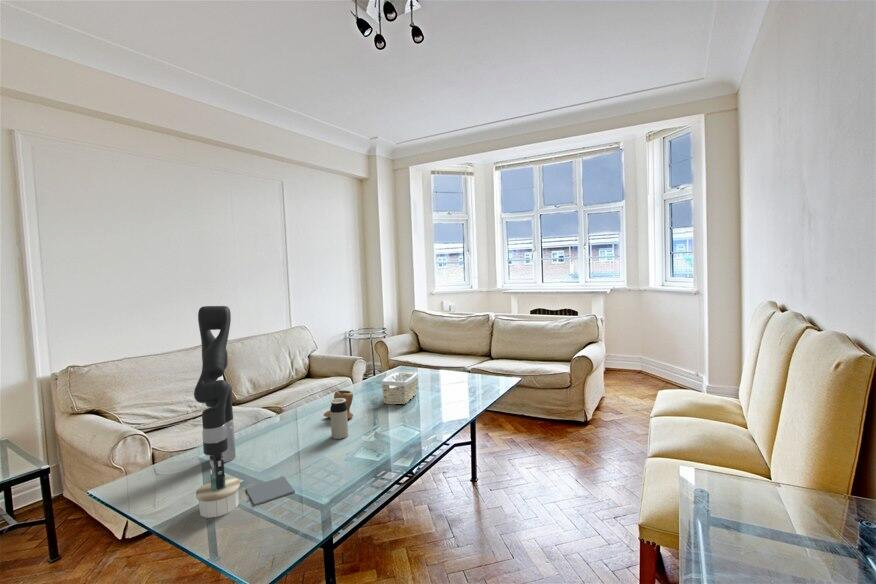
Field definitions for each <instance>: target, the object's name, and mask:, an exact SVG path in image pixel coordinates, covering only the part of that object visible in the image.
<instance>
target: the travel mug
mask: <svg viewBox="0 0 876 584" xmlns="http://www.w3.org/2000/svg"><path fill="white" fill-rule="evenodd" d="M345 402H346V399H344V398H336V399H334V398H333V399H331V400H330V402H329V403H331V404H330V405H331V406H330V407H329V408H330V409H329V411H330V414H331V418H330V432H331V438H332V439H335V440H342V438H343V439H345V438H347V437H348V436H349V428H348V427H349V426H348V422H349V421H348V420H349V419H347V405H346V404H345Z"/></svg>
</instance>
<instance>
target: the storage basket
mask: <svg viewBox="0 0 876 584" xmlns="http://www.w3.org/2000/svg"><path fill="white" fill-rule="evenodd" d="M404 377H405V379H404ZM418 379H419V375H418V372H410V371H408V372H406V371H396V372H393V373H391V374H390V375H388V376H386V377H385V378H382V380H381V391H382V398H383V399H382V400H383V404H385V403H386V405H395V404H405V403H406V404H408V402H410V401H411V400H412V399H413V398H414V397H416V396H417V394H416V393H418V392H417V390H418ZM415 395H416V396H415ZM413 396H414V397H413ZM410 399H411V400H410ZM409 400H410V401H409ZM406 404H405V405H406Z"/></svg>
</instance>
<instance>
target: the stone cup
mask: <svg viewBox="0 0 876 584" xmlns="http://www.w3.org/2000/svg"><path fill="white" fill-rule="evenodd" d="M336 398H344V399H346V402H345V404H346V405H347V419H348V420H349V419H352V418H353V417H354V414H353V413H352V412H351V410H350V409H351V405H352V403H353V399H354V394H353V392H352V391H351V390H345V389H343V390H342V389H337V390H336V391H335V392H334V396H333V399H336ZM323 416H324V417H326V418H328V419H329V418H330V419H331V414H330V410H328V411H326V412H324V413H323Z"/></svg>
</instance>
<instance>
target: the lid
mask: <svg viewBox="0 0 876 584" xmlns="http://www.w3.org/2000/svg"><path fill="white" fill-rule="evenodd" d="M219 474H221V471H220V472H218V475H219ZM209 476H210V481H209V482H206V483H204V484H202V485H201V486H200V487H198V488H197V489H196V490H195V491H196V492H195V497H196V499H197V501H199V500H200V501H216V500H220V499H223V498H226V497H228V496H230V495H232V494H234V493H235V492H236V491H237V490H238V491H239V490H240V487H241V483H240V480H239V479H237V478H236V477H235V478H234V477H226V476H225V477H223V481H224V487H223V488H221V489H217V488H216V478H215V473H214V474H212V473H210V475H209Z"/></svg>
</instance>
